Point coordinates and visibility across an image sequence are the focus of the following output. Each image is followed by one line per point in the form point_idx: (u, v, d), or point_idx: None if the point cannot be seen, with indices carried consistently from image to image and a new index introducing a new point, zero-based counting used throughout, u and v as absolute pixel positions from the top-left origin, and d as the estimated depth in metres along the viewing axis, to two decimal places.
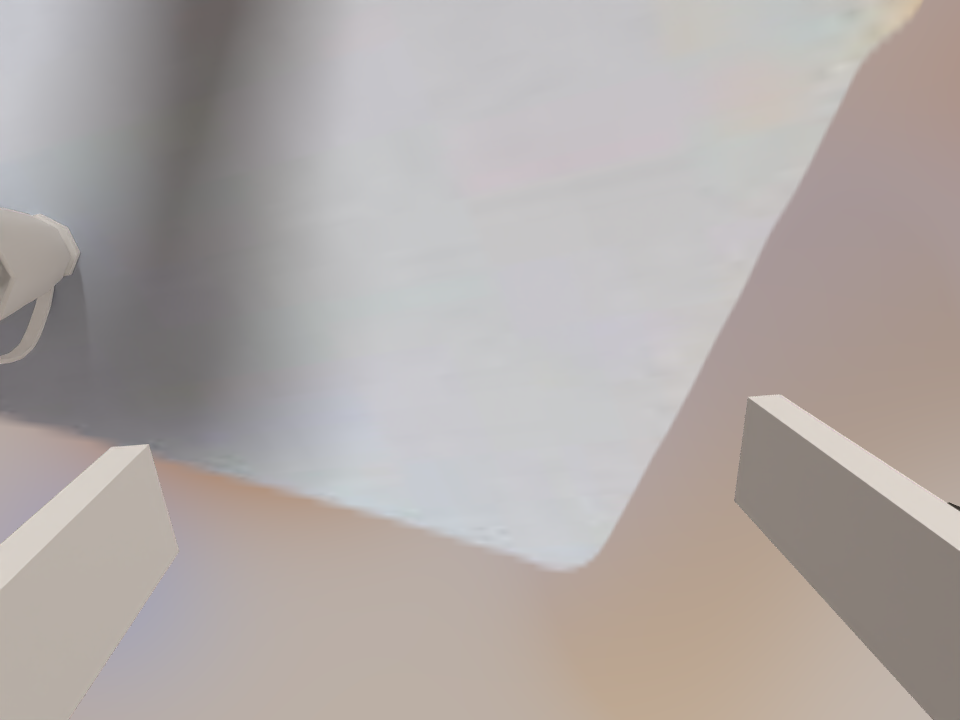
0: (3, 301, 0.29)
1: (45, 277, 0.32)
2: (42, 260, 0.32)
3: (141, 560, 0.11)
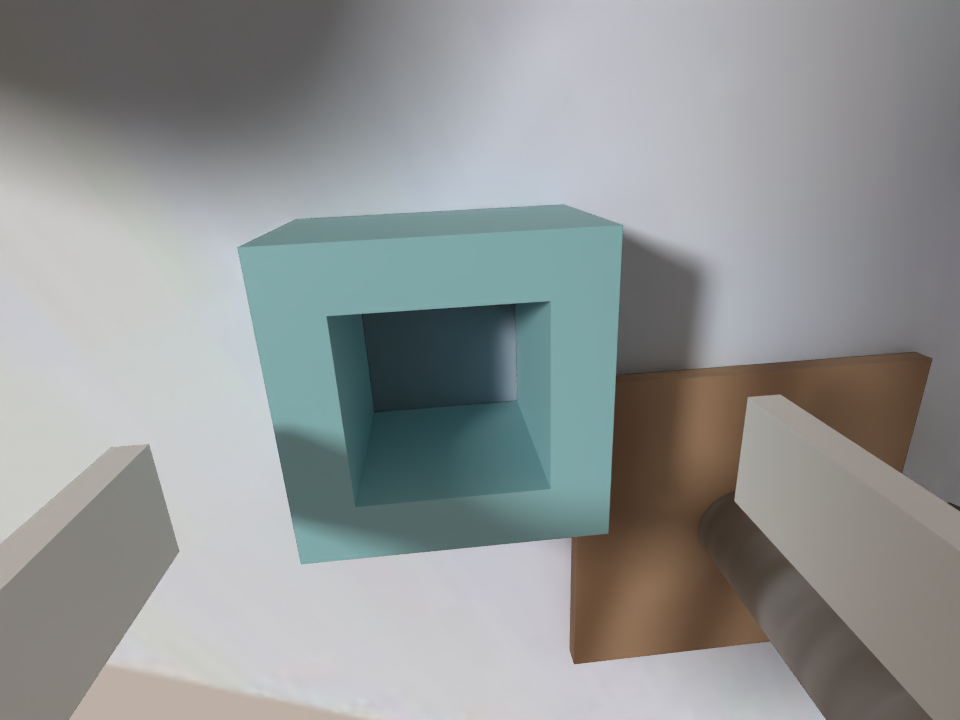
0: None
1: None
2: None
3: (141, 560, 0.11)
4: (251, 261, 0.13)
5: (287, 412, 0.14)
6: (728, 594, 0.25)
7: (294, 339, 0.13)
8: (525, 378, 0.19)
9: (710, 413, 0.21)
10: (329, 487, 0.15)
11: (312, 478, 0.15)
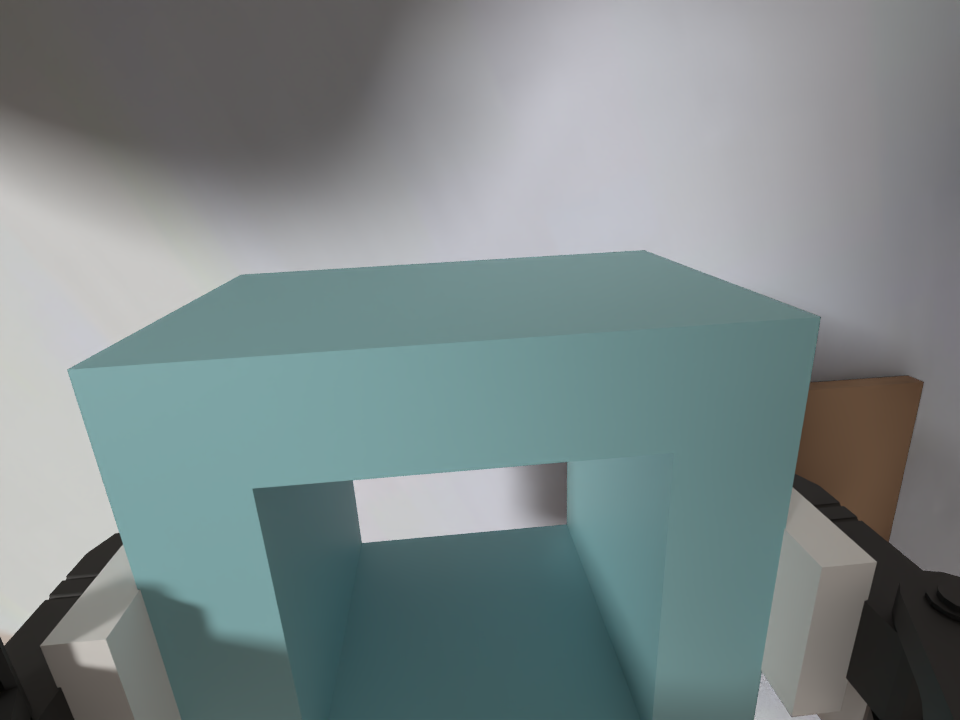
0: None
1: None
2: None
3: None
4: (98, 394, 0.06)
5: (188, 647, 0.08)
6: None
7: (193, 529, 0.07)
8: (587, 512, 0.12)
9: None
10: None
11: None
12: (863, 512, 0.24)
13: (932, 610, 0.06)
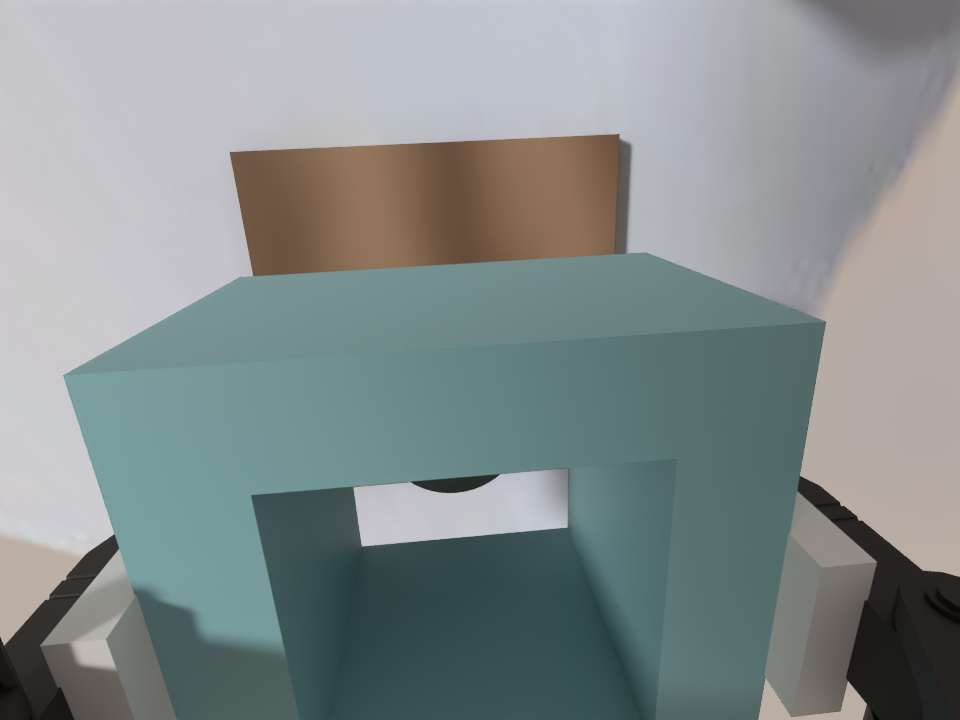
0: None
1: None
2: None
3: None
4: (95, 400, 0.06)
5: (186, 655, 0.08)
6: None
7: (191, 535, 0.07)
8: (589, 516, 0.12)
9: (383, 191, 0.20)
10: None
11: None
12: None
13: (932, 610, 0.06)
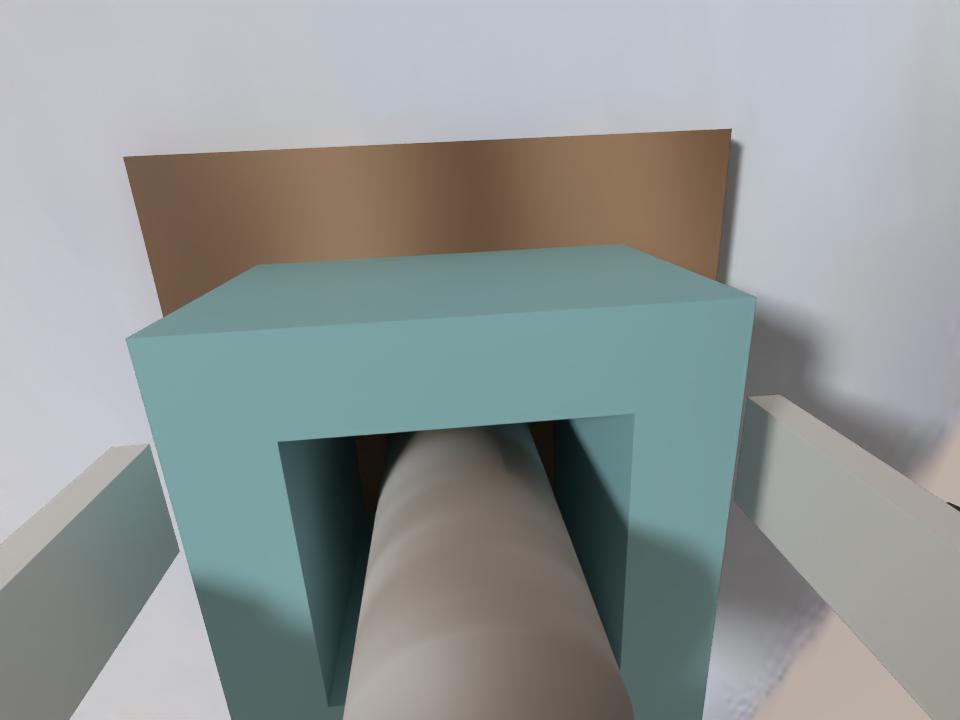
0: None
1: None
2: None
3: (141, 560, 0.11)
4: (150, 360, 0.08)
5: (220, 581, 0.09)
6: None
7: (227, 476, 0.08)
8: (570, 481, 0.14)
9: (367, 216, 0.13)
10: (288, 682, 0.10)
11: (262, 671, 0.10)
12: None
13: None
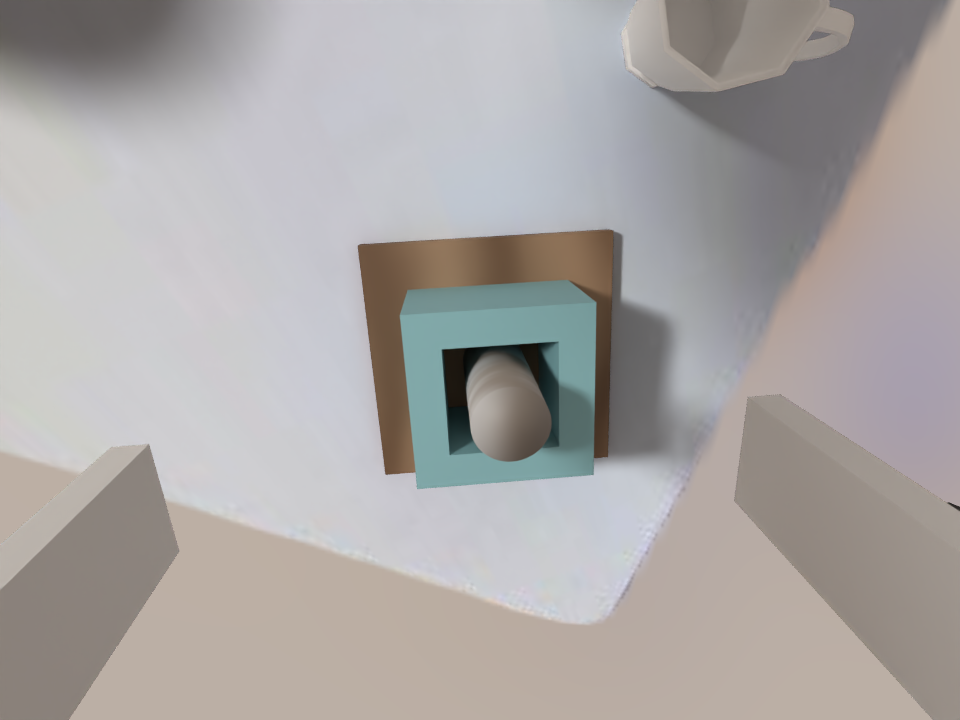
0: None
1: None
2: None
3: (141, 560, 0.11)
4: (406, 321, 0.25)
5: (417, 400, 0.26)
6: None
7: (424, 361, 0.25)
8: (544, 385, 0.30)
9: (456, 269, 0.30)
10: (436, 443, 0.27)
11: (427, 438, 0.27)
12: None
13: None
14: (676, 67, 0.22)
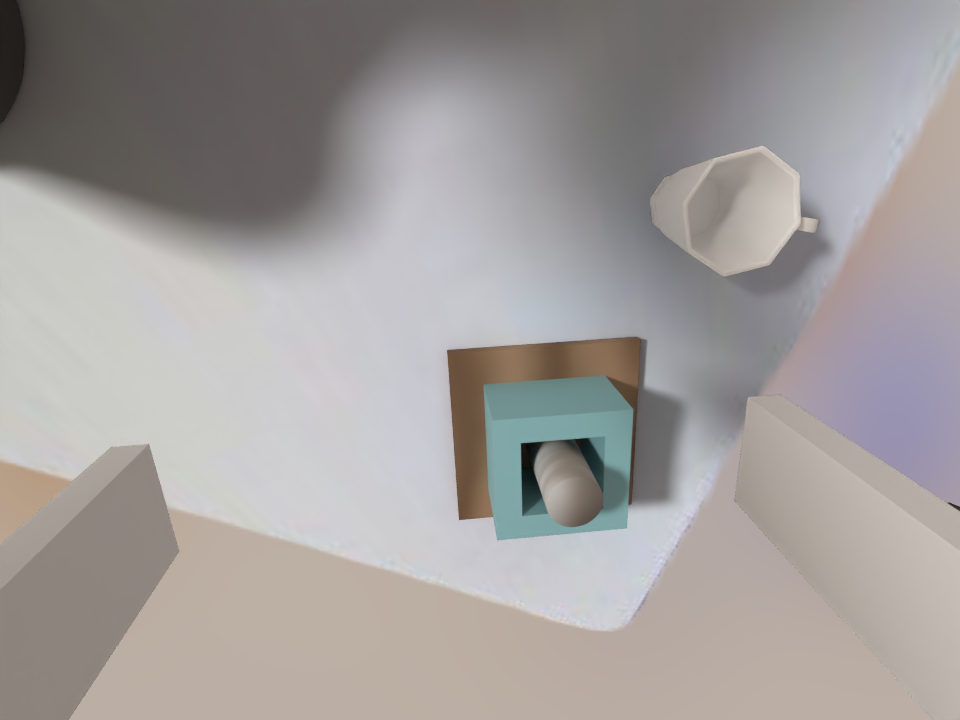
0: (782, 164, 0.29)
1: None
2: None
3: (141, 560, 0.11)
4: (496, 425, 0.34)
5: (501, 478, 0.35)
6: None
7: (507, 451, 0.35)
8: (587, 456, 0.40)
9: (520, 369, 0.39)
10: (513, 508, 0.36)
11: (507, 504, 0.36)
12: None
13: None
14: None
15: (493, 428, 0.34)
